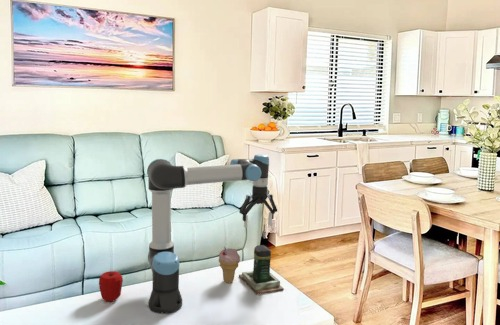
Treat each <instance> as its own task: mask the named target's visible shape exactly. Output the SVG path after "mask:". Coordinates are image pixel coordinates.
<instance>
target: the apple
mask: <svg viewBox="0 0 500 325" xmlns="http://www.w3.org/2000/svg"><path fill="white" fill-rule="evenodd" d="M123 281H124V280H123V276H122V274H121V273H120V272H118V271H115V270H114V271H113V270H112V271H111V270H110V271H106V272H103V273H102V274H101V275H100V276H99V279H98V287H99V292H100V296H101V299H103V300H104V301H105V302H106V303H112V302H115V301H116V300H118V299H119V297H121V294H122V287H123V283H124V282H123Z"/></svg>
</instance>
